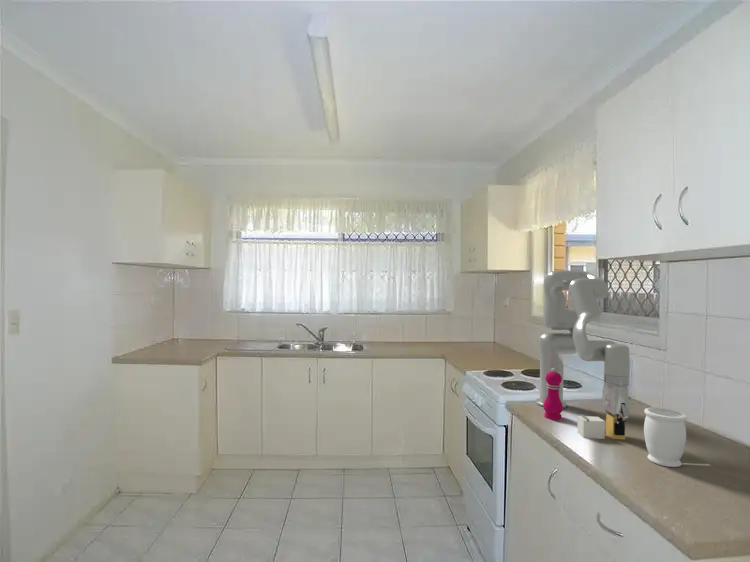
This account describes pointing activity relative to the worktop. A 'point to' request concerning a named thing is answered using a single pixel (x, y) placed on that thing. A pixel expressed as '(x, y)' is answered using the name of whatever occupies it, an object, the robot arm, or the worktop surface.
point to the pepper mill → (553, 396)
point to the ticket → (591, 427)
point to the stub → (612, 427)
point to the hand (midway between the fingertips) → (615, 431)
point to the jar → (665, 436)
